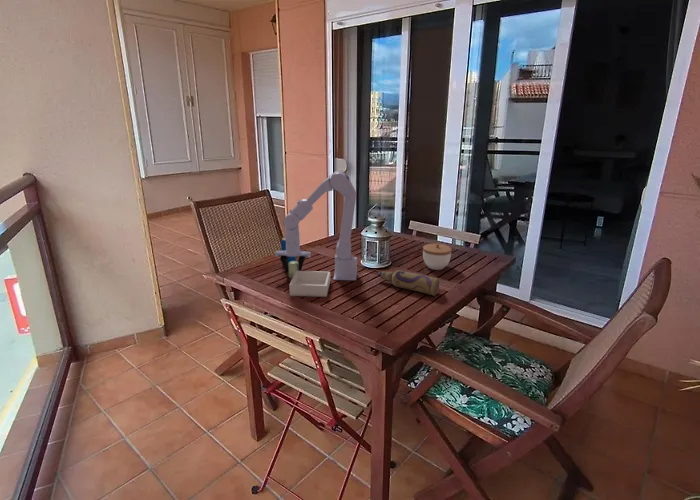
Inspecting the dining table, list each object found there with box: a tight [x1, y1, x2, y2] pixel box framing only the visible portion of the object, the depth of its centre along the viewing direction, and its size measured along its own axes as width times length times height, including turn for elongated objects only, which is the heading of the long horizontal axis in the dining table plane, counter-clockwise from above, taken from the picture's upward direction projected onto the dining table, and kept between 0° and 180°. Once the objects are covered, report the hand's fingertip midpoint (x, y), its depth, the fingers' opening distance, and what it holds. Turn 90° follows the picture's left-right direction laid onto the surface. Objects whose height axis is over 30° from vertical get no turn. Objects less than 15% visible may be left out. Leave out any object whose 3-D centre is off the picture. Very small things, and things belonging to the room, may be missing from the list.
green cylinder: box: [288, 260, 299, 279], centre depth 168 cm, size 4×4×6 cm
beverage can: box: [280, 236, 297, 263], centre depth 181 cm, size 6×6×12 cm
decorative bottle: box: [376, 269, 441, 297], centre depth 159 cm, size 26×8×7 cm, turn 57°
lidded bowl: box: [422, 242, 453, 271], centre depth 179 cm, size 13×13×11 cm
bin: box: [289, 270, 331, 298], centre depth 156 cm, size 14×14×5 cm
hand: (293, 272), depth 168 cm, fingers open, 5 cm apart
